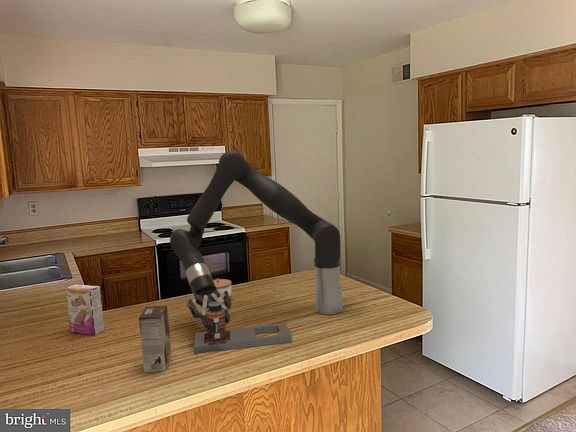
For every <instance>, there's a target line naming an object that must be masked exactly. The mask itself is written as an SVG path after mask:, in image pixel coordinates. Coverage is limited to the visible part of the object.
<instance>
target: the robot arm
mask: <svg viewBox="0 0 576 432" xmlns="http://www.w3.org/2000/svg"><path fill="white" fill-rule="evenodd" d="M234 182H237V183H239V184H240V185H242V186H243V187H245V188H246V189H247V190H249V192H251V193H252V194H253V196H255V197H256V198H257V199H258V200H259V201H260V202H261V203H262V204H263V205H264V206H266V207H267V208H268V209H270V210H271V211H272V212H273V213H275V214H276V215H278V216H279V217H281V218H282V219H285V220H286V221H288V222H290V223H292V224H294V225H295V226H297V227H298V228H300V229H301V230H302V231H303V232H305V233H306V235H308V236H309V237H310V238H311V239H312V240H313V242H314V252H315V253H314V259H313V265H314V268H313V269H314V287H315V288H314V289H315V291H314V293H315V311H316V313H317V314H320V315H326V316H327V315H336V314H339V313H343V287H342V285H341V277H340V276H341V275H340V273H341V272H340V271H341V270H340V268H341V267H340V260H341V233H340V231H339V229H338V228H337V226H335V224H333V223H331V222H330V221H327V220H325V219H324V218H322V217H320V216H319V215H317V214H316V213H315V212H312V210H310V209H309V208H308V207H307V206H306V205H305V204H304V203H303V202H302V201H301V200H300V199H299V198H298V197H297V196H296V195H294V194H293V192H291V191H290V190H288V189H287V188H285V186H283V185H281V184H280V183H278V182H277V181H275V180H273V179H272V178H270V177H268V176H267V175H265V174H263V173H262V172H260V171H258V170H257V169H256V168H255V167H253V165H251V164H250V163H249V162H248V161H247V160H246V159H245V157H244V156H243V154H241V153H240V152H238V151H236V150H228V151H225V152H223V153H222V155H220V157H219V160H218V163H217V167H216V170H215V172H214V174H213V176H212V178H211V180H210V182H209V184H208V185H207V187H206V188H205V190H204V191H203V192H202V194H201V195H200V197H199V198H198V200H197V201H196V203H195V204H194V206H193V207H192V209H191V211H190V212H189V214H188V215H187V218H186V222H187V223H188V225H190V227H189V230H186V229H183V228H178V229H175V230H173V231H172V233H171V234H170V237H169V244H170V247H171V249H172V251H174V253H175V255H176V256H177V258H178V260H180V261H181V264H182V266H183V268H184V271H185V273H186V278H187V279H186V280H187V281H188V284H189V286H190V289H191V292H192V295H193V296H194V298H193V299H191V298H190V299H188V301H187V303H186V306H187V308H188V309H189V312H190V313H191V315H192V316H193V318H194V319H195V320H196V319H200V320H201V322H202V325H203V327H204V328H206V330H207V329H209V328H210V323H209V320H208V318H207V315H206V312H207V310H209V308H208V307H209V306H208V304H209V303H212V302H220V303H221V306H222V307H221V308H222V309H223V310H224V311H225V324H227V325H228V324H229V323H230V321H231V316H230V313H229V311H230V309H231V307H232V302H231V298H230V297H229V294H228V291H225V292H223V293H219V292H218V291H217V289H216V286H215V283H214V281H213V280H214V278H213V276H212V275H211V272H210V270H209V267H208V266H207V265H206V262H205V259H204V257H203V255H202V253H201V252H200V251H199V250H197V249H198V248H199V246H200V245H201V243H202V239H203V236H204V233H205V229H206V227H207V224H208V223H209V221H210V220H211V218H212V217H213V215H214V213H215V211H216V210H217V208H218V206H219V204H220V202H221V200H222V199H223V197H224V196H225V194H226V193H227V191H228V189H229V188H230V186H232V184H233V183H234ZM219 297H221V298H222V299H223V300H224V303H223V302H222V301H221V300H220V299H219ZM196 304H197V305H198V306H200V309H199V310H198V308H197V306H196Z"/></svg>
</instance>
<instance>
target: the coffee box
mask: <svg viewBox="0 0 576 432" xmlns="http://www.w3.org/2000/svg"><path fill="white" fill-rule="evenodd" d="M169 320H170V319H169V311H168V305H167V304H166V305H150V306H145V308H144V309H143V311H142V312H141V313H140V316H139V317H138V322H139V323H138V324H139V333H140V342H141V344H140V345H141V353H142V363H143V372H144V373H151V372H152V373H153V372H163V371H164V372H165V371H167V369H168V367H169V365H170V361H171V360H172V356H173V353H172V343H171V334H170V333H171V332H170V331H171V330H170V323H169V322H170V321H169Z"/></svg>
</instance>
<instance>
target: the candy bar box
mask: <svg viewBox="0 0 576 432" xmlns="http://www.w3.org/2000/svg"><path fill="white" fill-rule="evenodd" d="M64 289H65V298H66V305H67V307H66V308H67V313H68V321H69V330H70V333H72V334H73V333H74V334H81V335H88V336H89V335H90V336H97V334H98V335H99V334H101V333H103V332H104V331H105V330H106V329H105V321H104V311H103V303H102V296H101V295H102V293H101V286H99V285H86V284H77V283H76V284H74V285H73V284H72V285H70V286H67V287H65V288H64Z"/></svg>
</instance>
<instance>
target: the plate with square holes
mask: <svg viewBox="0 0 576 432" xmlns="http://www.w3.org/2000/svg"><path fill="white" fill-rule="evenodd" d="M276 332H278V335H272V336H262V337H257V336H256V335H259V334H266V333H276ZM194 335H195V336H194V343H193V353H194V354H201V353H209V352H218V351H226V350H236V349H245V348H254V347H262V346H268V345H269V346H270V345H279V344H288V343H292V342H293V338H292V337H293V336H292V333H291V331H290V329H289V327H288V324H287V322H285V323H284V322H282V323H274V324H273V323H272V324H265V325H255V326H246V327H235V328H228V329H227V328H226V337H225V338H224V339H223V340H220V341H211V340H209V339H208V338H207V331H199V332H195V334H194Z"/></svg>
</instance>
